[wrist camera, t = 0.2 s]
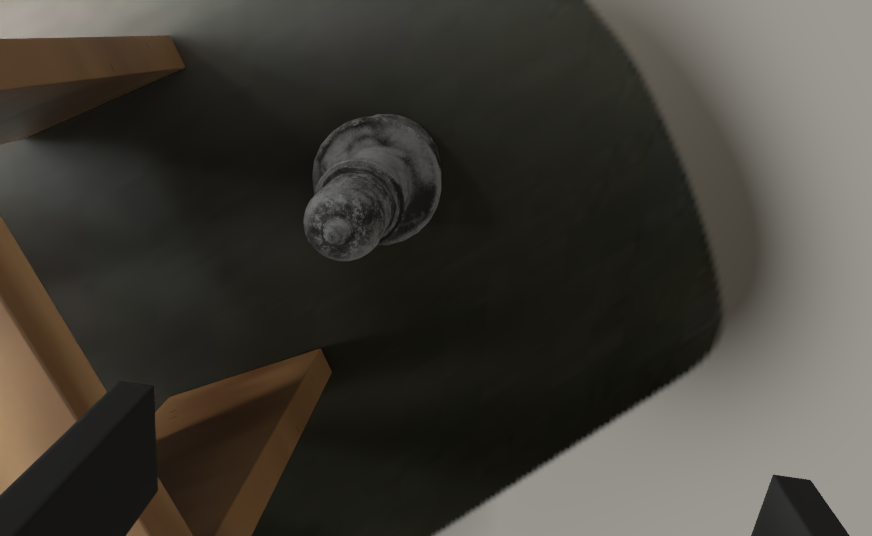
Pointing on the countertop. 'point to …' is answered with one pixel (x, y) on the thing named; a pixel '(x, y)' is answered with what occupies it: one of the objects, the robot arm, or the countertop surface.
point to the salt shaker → (372, 186)
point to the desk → (69, 368)
